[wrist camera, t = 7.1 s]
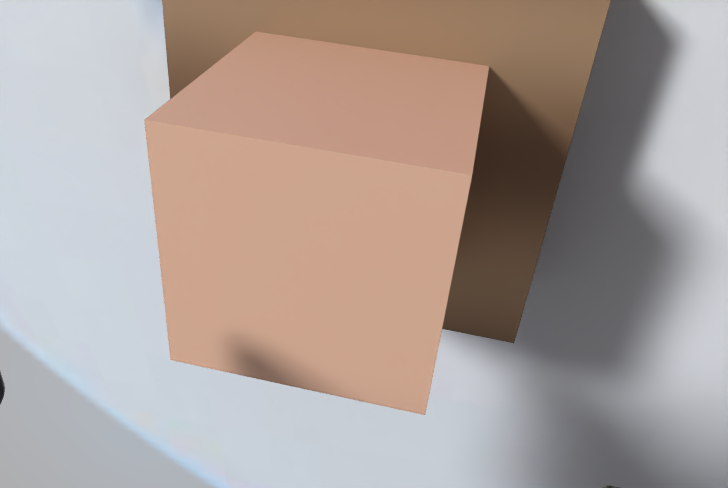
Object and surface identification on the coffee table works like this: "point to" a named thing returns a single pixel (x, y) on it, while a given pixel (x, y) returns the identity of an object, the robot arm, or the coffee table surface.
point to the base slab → (498, 120)
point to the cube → (315, 213)
